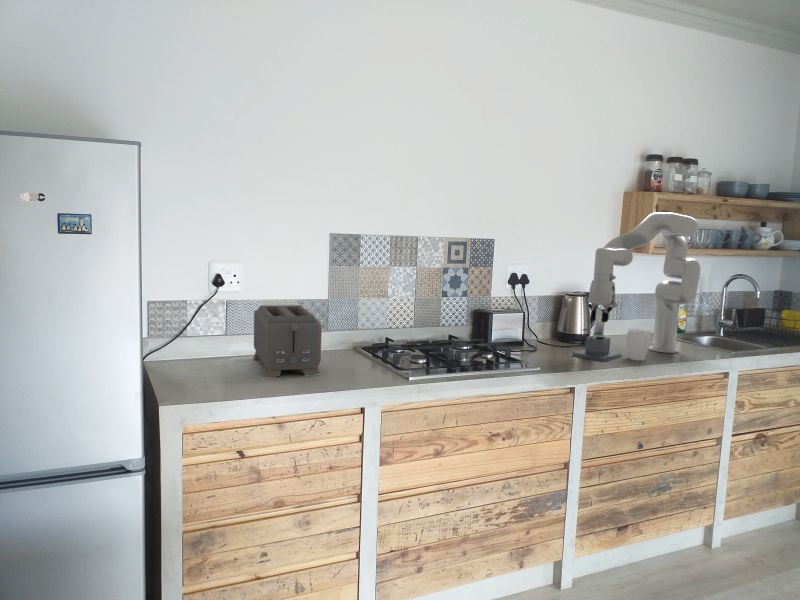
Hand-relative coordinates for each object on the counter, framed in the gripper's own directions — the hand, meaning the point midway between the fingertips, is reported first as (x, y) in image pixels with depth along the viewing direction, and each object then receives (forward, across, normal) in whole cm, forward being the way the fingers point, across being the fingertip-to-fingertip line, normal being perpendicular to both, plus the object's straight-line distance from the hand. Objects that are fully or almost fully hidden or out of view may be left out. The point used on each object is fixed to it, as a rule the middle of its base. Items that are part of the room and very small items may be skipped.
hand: (599, 320), depth 273 cm
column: (+8, 0, 0) cm, 8 cm away
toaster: (+15, +62, +116) cm, 132 cm away
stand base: (+15, 0, 0) cm, 15 cm away
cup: (+15, -13, -10) cm, 22 cm away
